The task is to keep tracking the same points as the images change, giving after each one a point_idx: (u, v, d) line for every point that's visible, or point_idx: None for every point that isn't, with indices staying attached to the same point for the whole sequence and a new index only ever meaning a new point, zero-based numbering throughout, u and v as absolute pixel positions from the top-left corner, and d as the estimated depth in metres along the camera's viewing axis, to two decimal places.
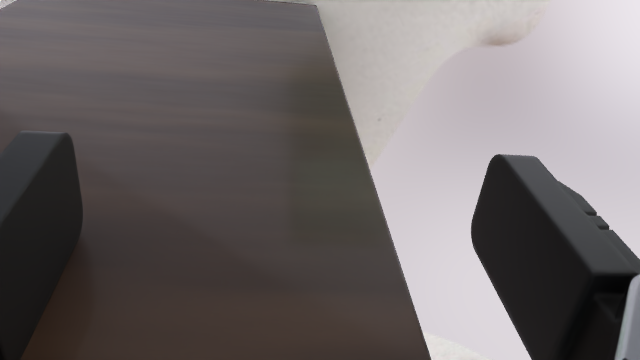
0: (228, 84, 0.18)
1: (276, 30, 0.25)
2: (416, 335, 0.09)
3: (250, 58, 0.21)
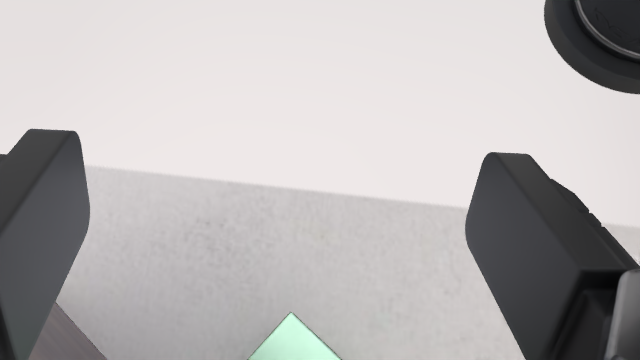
0: None
1: None
2: None
3: None
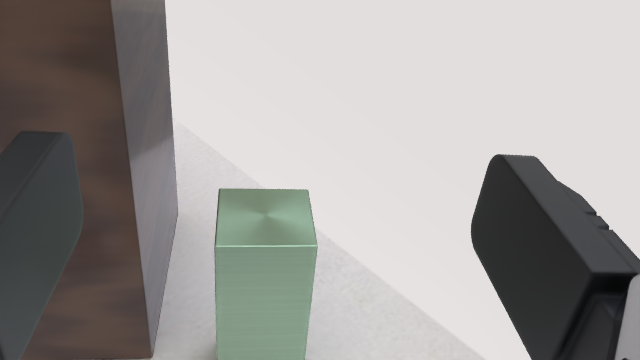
0: (143, 118, 0.27)
1: (150, 252, 0.29)
2: None
3: (146, 174, 0.28)
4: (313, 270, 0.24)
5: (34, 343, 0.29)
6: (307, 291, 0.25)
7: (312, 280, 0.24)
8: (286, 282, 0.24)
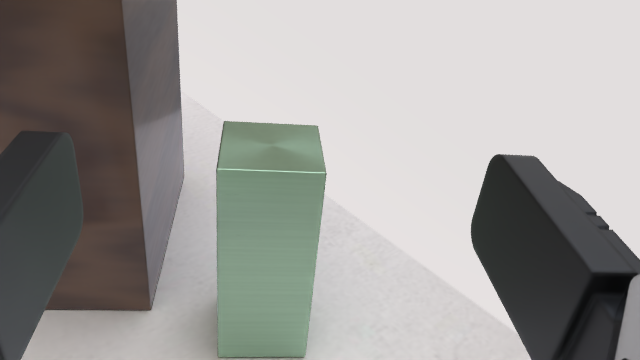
0: (147, 48, 0.26)
1: (151, 195, 0.28)
2: None
3: (148, 111, 0.27)
4: (321, 201, 0.23)
5: None
6: (315, 226, 0.23)
7: (320, 213, 0.23)
8: (293, 215, 0.23)
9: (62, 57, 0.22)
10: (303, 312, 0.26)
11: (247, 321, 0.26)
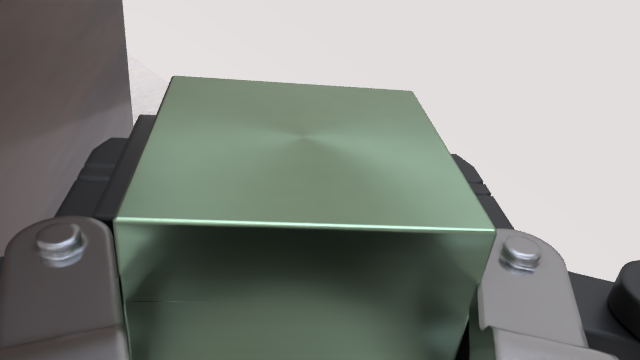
0: None
1: None
2: None
3: (1, 58, 0.11)
4: (465, 317, 0.07)
5: None
6: None
7: (455, 350, 0.07)
8: (371, 357, 0.07)
9: None
10: None
11: None
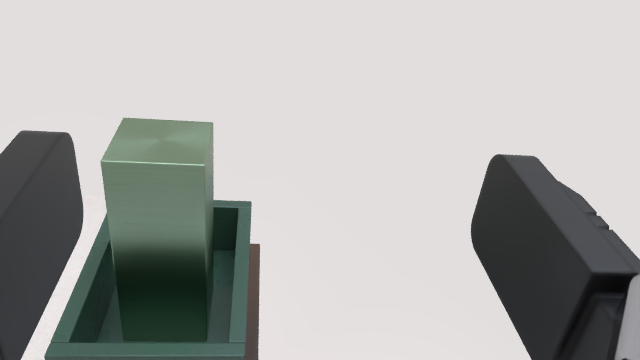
0: None
1: None
2: None
3: None
4: (203, 192, 0.24)
5: None
6: (200, 215, 0.25)
7: (204, 203, 0.25)
8: (178, 204, 0.25)
9: None
10: (199, 298, 0.28)
11: (147, 306, 0.28)
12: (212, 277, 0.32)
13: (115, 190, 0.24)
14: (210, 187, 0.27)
